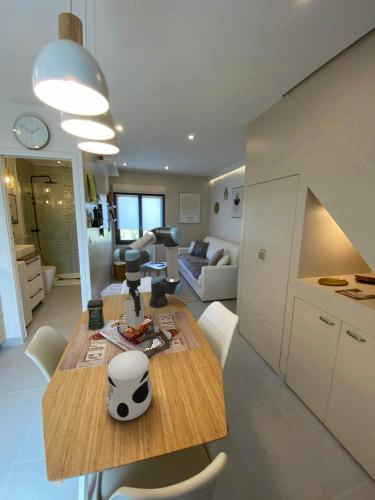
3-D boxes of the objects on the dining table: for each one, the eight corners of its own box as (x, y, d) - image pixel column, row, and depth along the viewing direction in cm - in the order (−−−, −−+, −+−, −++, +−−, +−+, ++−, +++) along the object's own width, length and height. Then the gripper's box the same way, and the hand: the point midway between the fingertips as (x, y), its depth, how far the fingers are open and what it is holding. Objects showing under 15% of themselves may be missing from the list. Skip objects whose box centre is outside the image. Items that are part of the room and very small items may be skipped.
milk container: (99, 403, 81) (96, 362, 78) (138, 379, 93) (136, 343, 90) (120, 437, 69) (117, 391, 65) (161, 404, 81) (160, 364, 77)
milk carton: (125, 325, 113) (124, 292, 109) (134, 319, 119) (133, 288, 115) (135, 328, 109) (134, 295, 106) (144, 322, 116) (143, 291, 112)
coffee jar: (87, 330, 130) (85, 303, 127) (90, 324, 138) (88, 298, 134) (103, 329, 132) (101, 302, 129) (105, 322, 140) (104, 297, 137)
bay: (160, 335, 127) (159, 327, 126) (169, 347, 115) (169, 339, 114) (136, 342, 119) (135, 334, 118) (143, 356, 107) (143, 348, 106)
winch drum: (153, 330, 132) (152, 318, 130) (155, 333, 128) (155, 321, 126) (146, 331, 130) (146, 320, 128) (149, 335, 126) (148, 323, 124)
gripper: (122, 274, 117) (123, 310, 121) (131, 286, 98) (133, 328, 102) (135, 272, 121) (136, 307, 125) (146, 283, 102) (147, 324, 106)
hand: (134, 317), depth 113 cm, fingers closed on milk carton, 10 cm apart
